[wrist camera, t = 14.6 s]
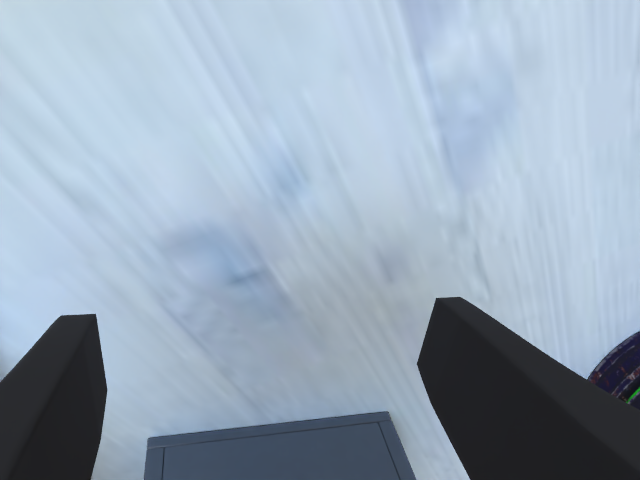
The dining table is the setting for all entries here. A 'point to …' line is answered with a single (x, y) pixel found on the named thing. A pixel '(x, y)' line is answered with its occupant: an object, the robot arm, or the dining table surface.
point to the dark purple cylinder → (621, 372)
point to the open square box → (285, 452)
